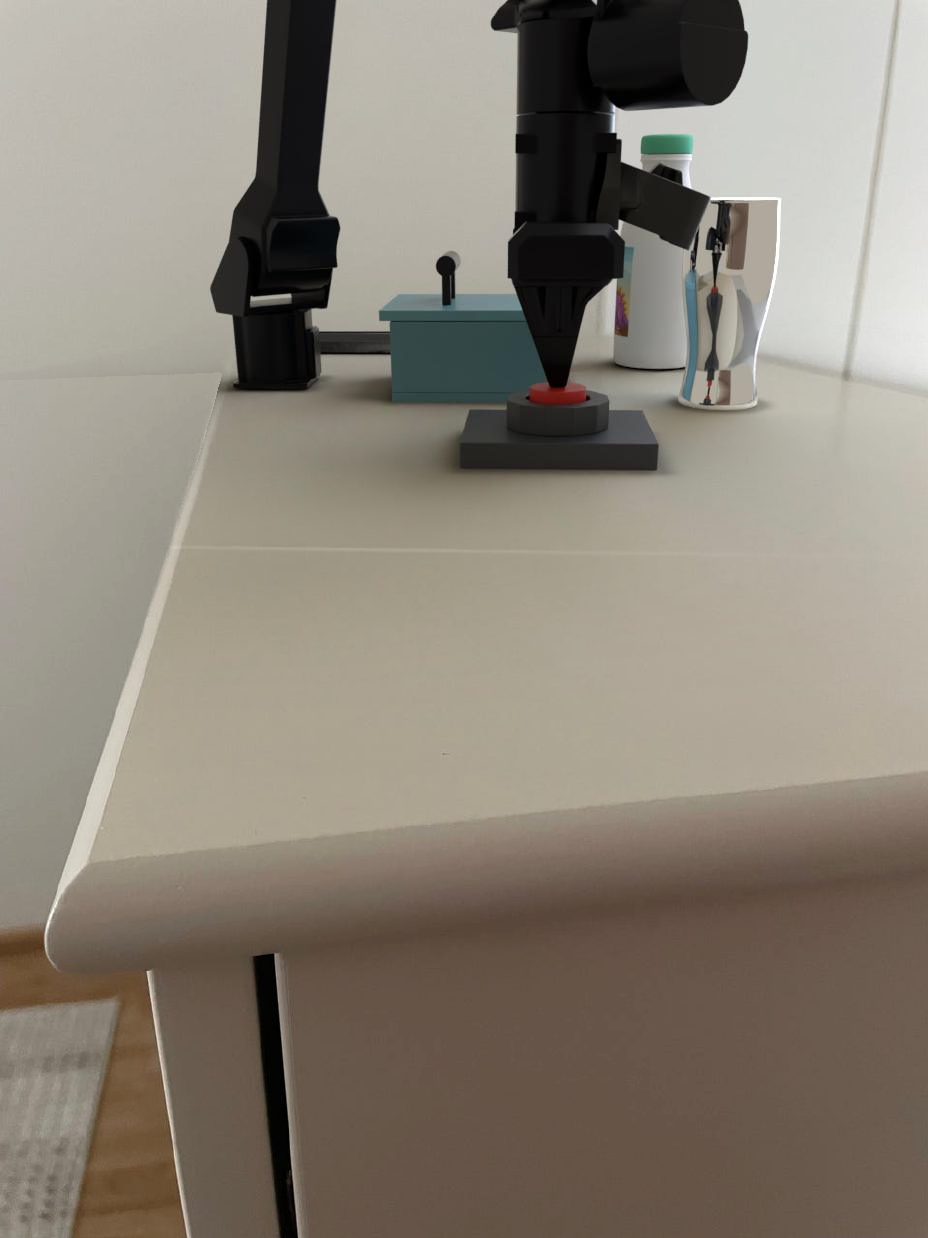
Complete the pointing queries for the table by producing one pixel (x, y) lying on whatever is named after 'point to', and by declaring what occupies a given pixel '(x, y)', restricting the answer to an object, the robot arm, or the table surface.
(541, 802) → the table surface
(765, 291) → the beer glass
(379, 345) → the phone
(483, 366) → the teal rectangular box
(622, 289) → the milk bottle
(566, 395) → the power button
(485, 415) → the control box
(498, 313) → the lid
